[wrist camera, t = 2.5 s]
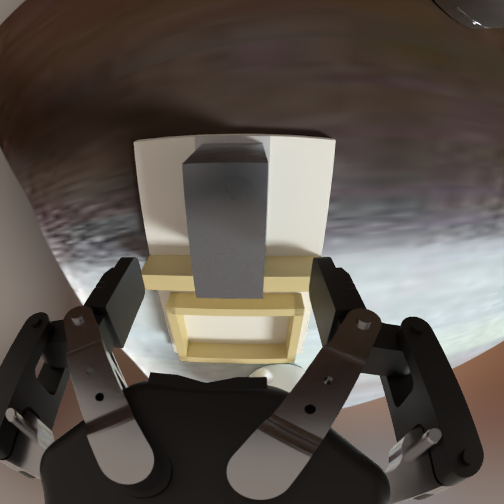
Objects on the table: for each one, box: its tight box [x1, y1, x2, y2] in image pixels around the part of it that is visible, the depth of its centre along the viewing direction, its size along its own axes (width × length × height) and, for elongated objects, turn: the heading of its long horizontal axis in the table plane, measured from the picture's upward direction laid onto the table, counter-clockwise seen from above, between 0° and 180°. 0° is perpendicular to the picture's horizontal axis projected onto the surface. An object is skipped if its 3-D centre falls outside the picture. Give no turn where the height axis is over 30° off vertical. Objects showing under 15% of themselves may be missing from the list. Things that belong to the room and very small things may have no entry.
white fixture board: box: [134, 134, 335, 364], centre depth 22 cm, size 22×14×4 cm, turn 179°
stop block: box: [182, 143, 268, 299], centre depth 17 cm, size 8×4×6 cm, turn 179°
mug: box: [249, 364, 305, 393], centre depth 28 cm, size 12×8×10 cm
